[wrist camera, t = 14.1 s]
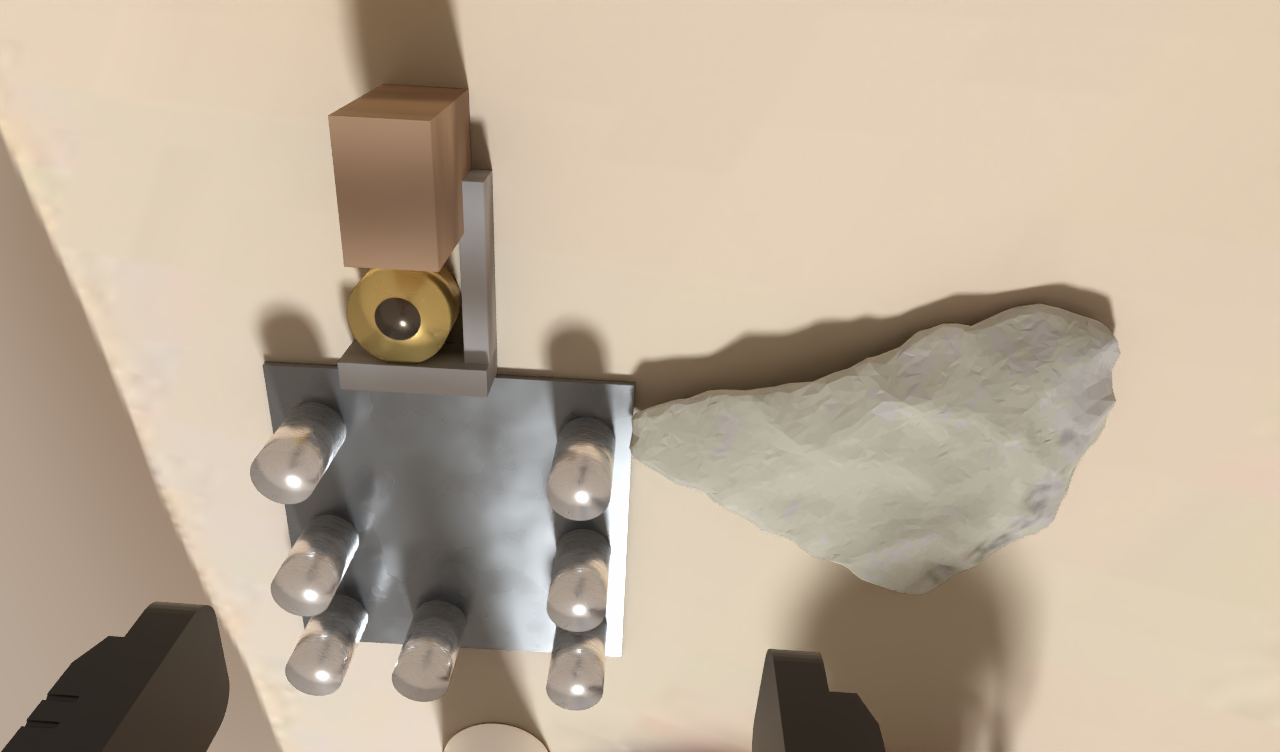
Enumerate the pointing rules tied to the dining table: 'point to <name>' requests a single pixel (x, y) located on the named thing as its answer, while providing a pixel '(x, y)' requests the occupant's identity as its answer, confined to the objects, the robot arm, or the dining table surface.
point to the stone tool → (903, 445)
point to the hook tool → (417, 225)
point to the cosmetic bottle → (494, 740)
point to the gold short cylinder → (403, 313)
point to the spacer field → (451, 525)
